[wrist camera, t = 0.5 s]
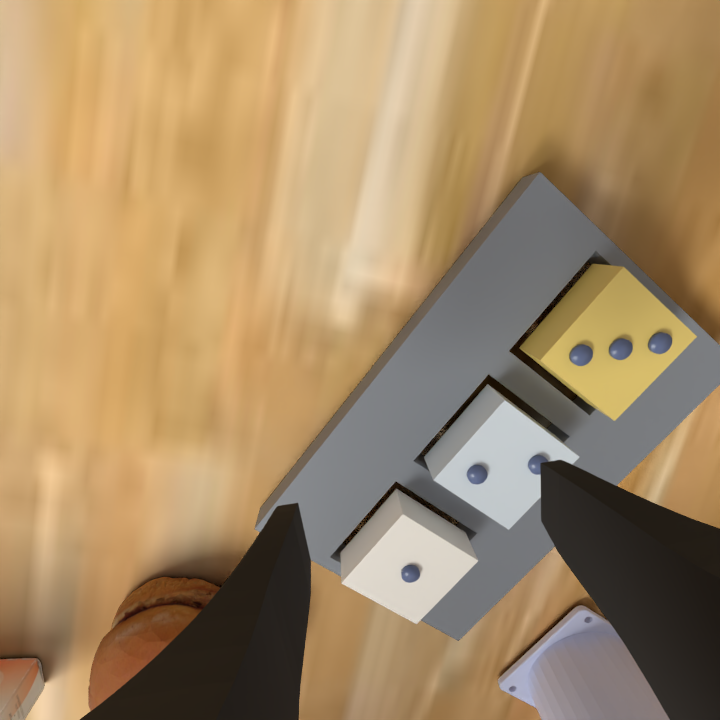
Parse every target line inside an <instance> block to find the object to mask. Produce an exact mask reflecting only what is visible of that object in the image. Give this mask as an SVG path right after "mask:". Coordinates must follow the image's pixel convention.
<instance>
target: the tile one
mask: <svg viewBox="0 0 720 720" xmlns="http://www.w3.org/2000/svg"><path fill="white" fill-rule="evenodd" d="M340 556H341V583H342V584H343V585H345V586H347V587H349V588H351V589H353V590H355V591H356V592H358V593H360V594H362V595H364V596H366V597H367V598H369V599H371V600H373V601H375V602H377V603H378V604H380V605H382V606H384V607H386V608H388V609H389V610H391V611H393V612H395V613H397V614H399V615H400V616H402V617H404V618H406V619H408V620H410V621H411V622H413V623H415V624H417V623H418V622H419V621H420V620H421V619H422V618H423V617H424V616H425V615H426V614H427V613H428V612H429V611H430V610H431V609H432V608H433V607H434V606H435V605H436V604H437V603H438V602H439V601H440V600H441V599H442V598H443V597H444V596H445V595H446V594H447V593H448V592H449V591H450V590H451V589H452V587H453V586H454V585H455V584H456V583H457V582H458V581H459V580H460V579H461V578H462V577H463V576H464V575H465V574H466V573H467V572H468V571H469V570H470V569H471V568H472V567H473V566H474V565H475V564H476V563H477V562H478V559H477V557H476V554H475V552H474V550H473V548H472V546H471V543H470V541H469V539H468V537H467V534H466V532H464V531H463V530H461V529H459V528H458V527H456V526H455V525H453V524H452V523H450V522H448V521H447V520H445V519H444V518H442V517H441V516H439V515H437V514H436V513H434V512H433V511H431V510H429V509H428V508H426V507H425V506H423V505H422V504H420V503H418V502H417V501H415V500H414V499H412V498H411V497H409V496H407V495H406V494H404V493H403V492H401V491H400V490H398V489H395V491H394V492H393V493H392V494H391V495H390V496H389V498H388V499H387V500H386V501H385V502H384V503H383V504H382V506H381V507H380V508H379V509H378V510H377V511H376V512H375V514H374V515H373V516H372V517H371V518H370V519H369V520H368V522H367V523H366V524H365V525H364V526H363V527H362V528H361V530H360V531H359V532H358V533H357V534H356V535H355V536H354V538H353V539H352V540H351V541H350V542H349V543H348V544H347V546H346V547H345V548H344V549H343V550H342V551H341V553H340Z"/></svg>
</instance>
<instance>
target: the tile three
mask: <svg viewBox="0 0 720 720" xmlns="http://www.w3.org/2000/svg"><path fill="white" fill-rule="evenodd" d="M696 337H697V336H696V335H695V334H694V333H693V332H692V331H691V330H690V329H689V328H688V327H686V326H685V325H684V324H683V323H682V322H681V321H680V320H679V319H678V318H677V317H676V316H675V315H674V314H673V313H672V312H671V311H670V310H669V309H668V308H667V307H665V306H664V305H663V304H662V303H661V302H660V301H659V300H658V299H657V298H656V297H655V296H654V295H653V294H652V293H651V292H650V291H649V290H648V289H647V288H646V287H645V286H643V285H642V284H641V283H640V282H639V281H638V280H637V279H636V278H635V277H634V276H633V275H632V274H631V273H630V272H629V271H628V270H627V269H626V268H625V267H621V266H612V265H602V264H592V265H591V266H590V267H589V268H588V269H587V271H586V272H585V273H584V274H583V275H582V276H581V278H580V279H579V280H578V281H577V282H576V283H575V284H574V286H573V287H572V288H571V289H570V290H569V291H568V292H567V294H566V295H565V296H564V297H563V298H562V299H561V300H560V302H559V303H558V304H557V305H556V306H555V307H554V308H553V310H552V311H551V312H550V313H549V314H548V315H547V316H546V318H545V319H544V320H543V321H542V322H541V323H540V324H539V326H538V327H537V328H536V329H535V330H534V331H533V333H532V334H531V335H530V336H529V337H528V338H527V339H526V341H525V342H524V343H523V344H522V345H521V346H520V347H519V348H520V349H521V350H522V351H523V352H525V353H526V354H527V355H528V356H530V357H531V358H532V359H533V360H535V361H536V362H537V363H538V364H540V365H541V366H542V367H543V368H544V369H546V370H547V371H548V372H549V373H551V374H552V375H553V376H554V377H556V378H557V379H558V380H559V381H561V382H562V383H563V384H564V385H565V386H567V387H568V388H569V389H570V390H572V391H573V392H574V393H575V394H577V395H578V396H579V397H580V398H582V399H583V400H584V401H585V402H586V403H588V404H589V405H591V406H592V407H594V408H595V409H597V410H598V411H600V412H602V413H603V414H605V415H606V416H608V417H609V418H611V419H612V420H614V421H615V420H616V419H617V418H618V417H619V416H620V415H621V414H622V413H623V412H624V411H625V410H626V409H627V408H628V407H629V406H630V405H631V404H632V403H633V402H634V401H635V400H636V399H637V398H638V397H639V396H640V395H641V394H642V393H643V392H644V391H645V390H646V389H647V388H648V386H649V385H650V384H651V383H652V382H653V381H654V380H655V379H656V378H657V377H658V376H659V375H660V374H661V373H662V372H663V371H664V370H665V369H666V368H667V367H668V366H669V365H670V364H671V363H672V362H673V361H674V360H675V359H676V358H677V357H678V356H679V355H680V354H681V353H682V352H683V351H684V350H685V349H686V348H687V346H688V345H689V344H690V343H691V342H692V341H693V340H694V339H695V338H696Z"/></svg>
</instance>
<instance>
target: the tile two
mask: <svg viewBox="0 0 720 720" xmlns="http://www.w3.org/2000/svg"><path fill="white" fill-rule="evenodd" d="M578 458H579V456H578V455H577V454H576V453H575V452H574V451H572V450H571V449H570V448H569V447H568V446H567V445H566V444H565V443H563V442H562V441H561V440H560V439H559V438H558V437H557V436H555V435H554V434H553V433H551V432H550V431H549V430H548V429H546V428H545V427H544V426H542V425H541V424H540V423H538V422H537V421H536V420H534V419H533V418H532V417H530V416H529V415H528V414H527V413H525V412H524V411H523V410H521V409H520V408H519V407H517V406H516V405H515V404H513V403H512V402H511V401H509V400H508V399H507V398H506V397H504V396H503V395H502V394H500V393H499V392H498V391H496V390H495V389H494V388H492V387H491V386H490V385H488V384H487V385H486V386H485V388H484V389H483V390H482V391H481V392H480V393H479V394H478V396H477V397H476V398H475V399H474V400H473V401H472V402H471V404H470V405H469V406H468V407H467V408H466V409H465V410H464V412H463V413H462V414H461V415H460V416H459V417H458V418H457V420H456V421H455V422H454V423H453V424H452V425H451V426H450V428H449V429H448V430H447V431H446V432H445V433H444V434H443V436H442V437H441V438H440V439H439V440H438V441H437V443H436V444H435V445H434V446H433V447H432V448H431V449H430V451H429V452H428V453H427V454H426V455H425V456H424V459H425V461H426V464H427V466H428V469H429V471H430V473H431V476H432V478H433V480H434V481H435V482H437V483H438V484H440V485H442V486H443V487H445V488H446V489H448V490H449V491H451V492H452V493H454V494H455V495H457V496H458V497H460V498H461V499H463V500H464V501H466V502H467V503H469V504H470V505H472V506H473V507H475V508H476V509H478V510H479V511H481V512H483V513H484V514H486V515H487V516H489V517H490V518H492V519H493V520H495V521H496V522H498V523H499V524H501V525H502V526H504V527H505V528H507V529H508V530H509V529H510V528H511V527H512V526H513V525H514V524H515V523H516V522H517V521H518V520H519V519H520V518H521V517H522V516H523V515H524V514H525V513H526V512H527V511H528V510H529V509H530V507H531V506H532V505H533V504H534V503H535V502H536V501H537V500H538V499H539V498H540V497H541V473H540V463H543V462H549V461H555V460H563V461H565V462H568V463H570V464H573V463H574V462H575V461H576V460H577V459H578Z"/></svg>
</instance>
